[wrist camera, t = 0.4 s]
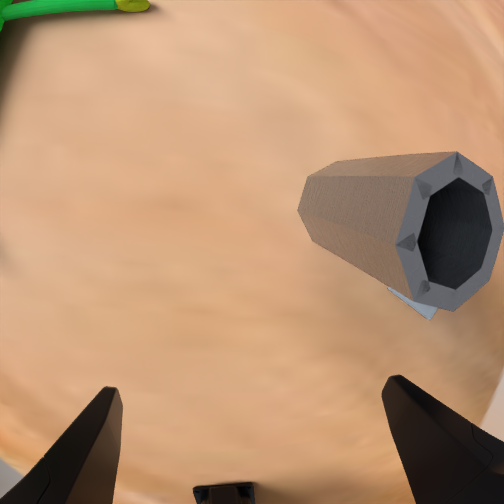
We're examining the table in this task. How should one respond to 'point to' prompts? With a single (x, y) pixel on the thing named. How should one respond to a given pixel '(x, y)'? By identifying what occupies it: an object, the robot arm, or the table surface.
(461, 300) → the sleeve
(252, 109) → the table surface
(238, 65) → the table surface
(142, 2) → the toy
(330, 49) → the table surface
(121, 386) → the table surface
